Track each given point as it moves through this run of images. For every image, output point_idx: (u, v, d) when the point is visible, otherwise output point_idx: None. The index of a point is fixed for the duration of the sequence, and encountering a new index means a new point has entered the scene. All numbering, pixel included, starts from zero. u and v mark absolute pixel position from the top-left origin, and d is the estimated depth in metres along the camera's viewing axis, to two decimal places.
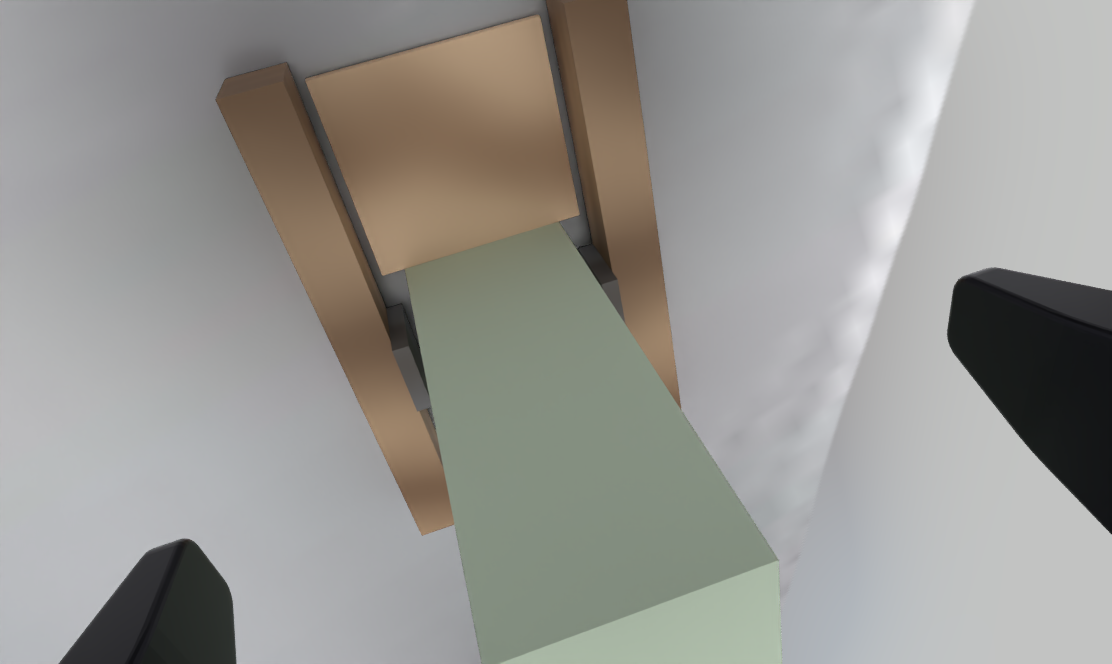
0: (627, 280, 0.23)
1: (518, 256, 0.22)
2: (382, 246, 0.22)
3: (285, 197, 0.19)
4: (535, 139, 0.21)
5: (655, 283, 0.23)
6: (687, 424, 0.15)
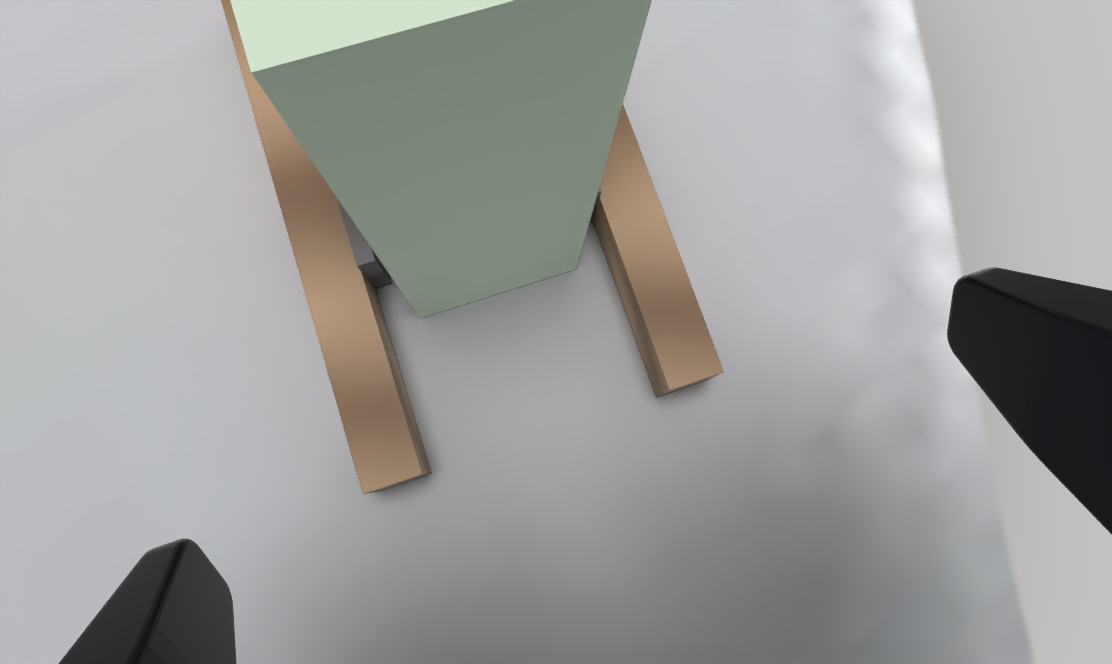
0: None
1: None
2: None
3: None
4: None
5: (625, 137, 0.21)
6: None
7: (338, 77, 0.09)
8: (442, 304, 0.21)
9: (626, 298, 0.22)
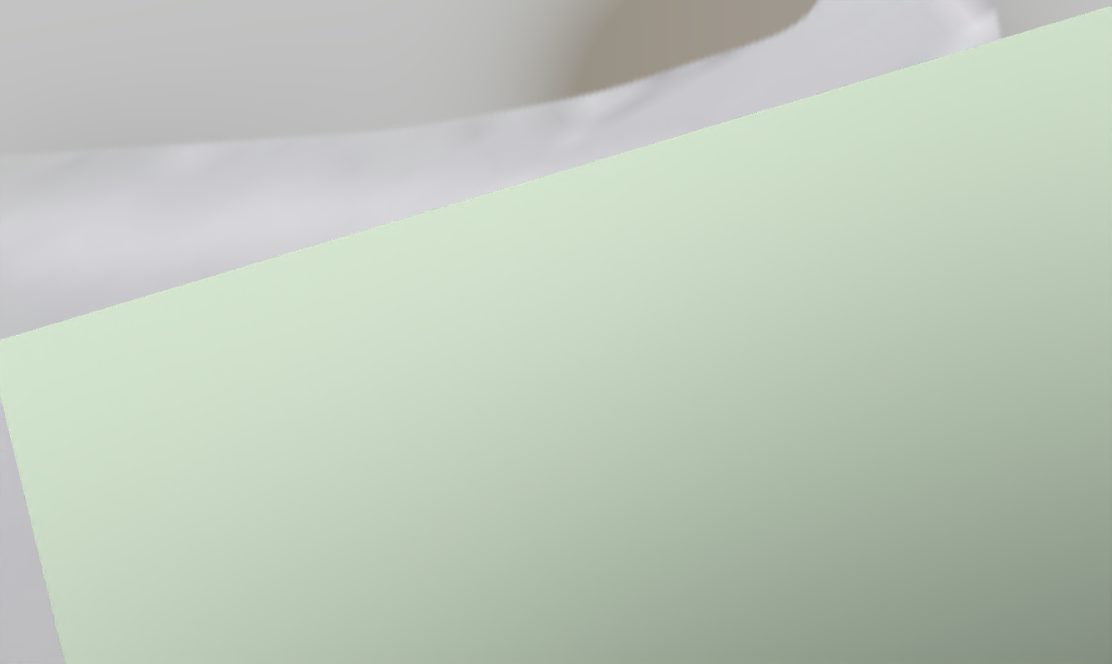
0: None
1: None
2: None
3: None
4: None
5: None
6: None
7: None
8: None
9: None
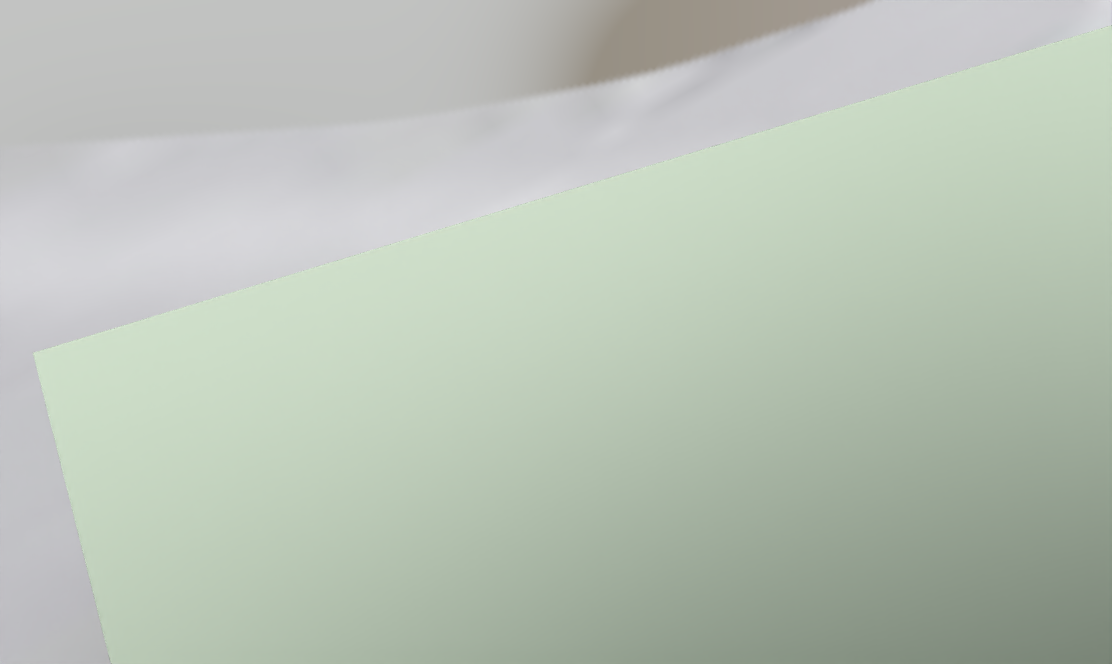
0: None
1: None
2: None
3: None
4: None
5: None
6: None
7: None
8: None
9: None
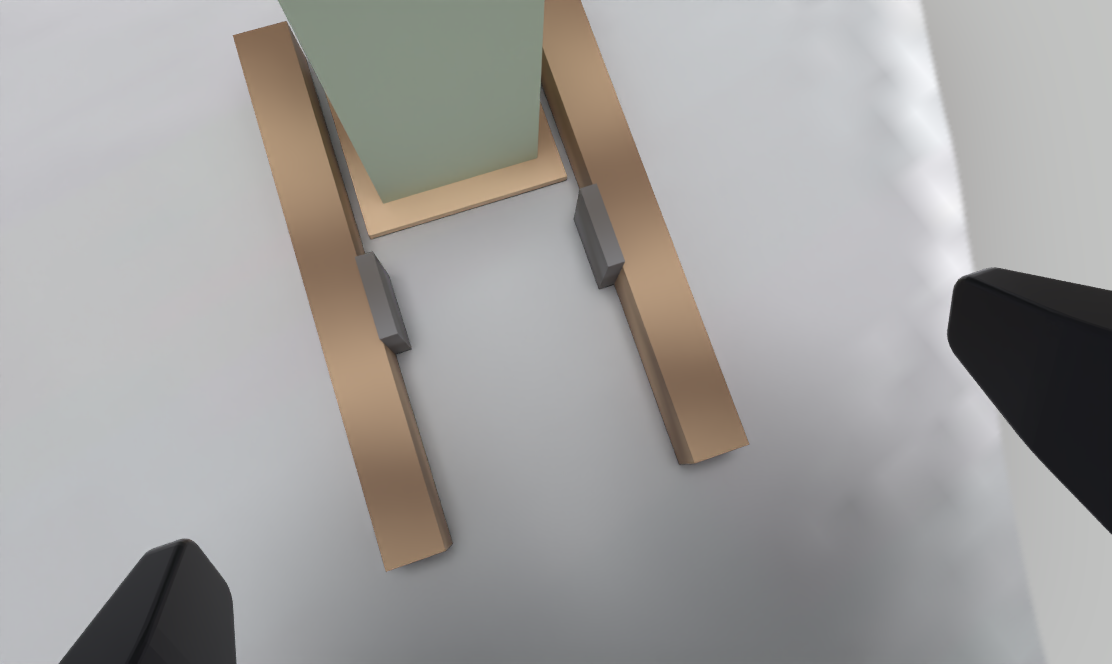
0: (613, 200, 0.21)
1: None
2: (370, 205, 0.22)
3: (274, 111, 0.21)
4: None
5: (647, 205, 0.21)
6: None
7: None
8: (404, 186, 0.22)
9: (649, 365, 0.21)
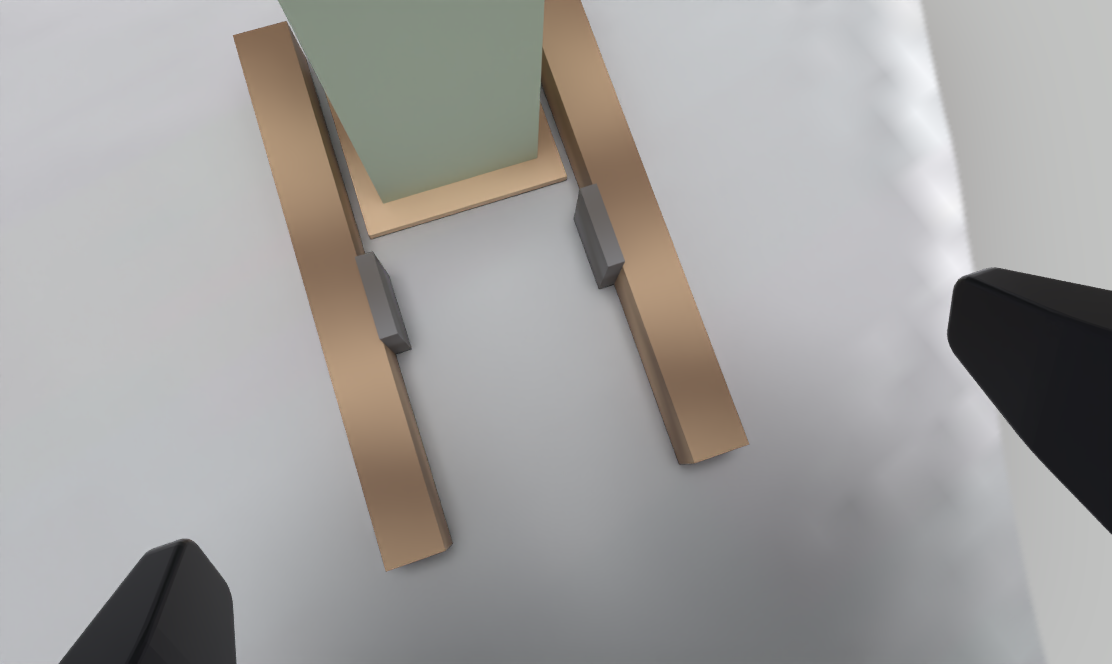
0: (613, 200, 0.21)
1: None
2: (370, 205, 0.22)
3: (274, 111, 0.21)
4: None
5: (647, 205, 0.21)
6: None
7: None
8: (404, 186, 0.22)
9: (649, 365, 0.21)
